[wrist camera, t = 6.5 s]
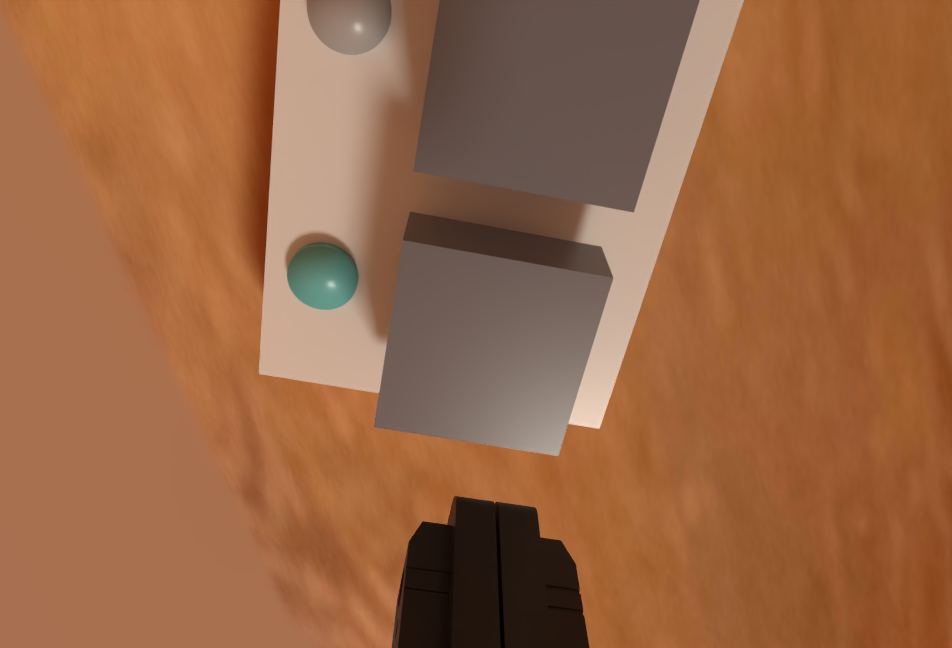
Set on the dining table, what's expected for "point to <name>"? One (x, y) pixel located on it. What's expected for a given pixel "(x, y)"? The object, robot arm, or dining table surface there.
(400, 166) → the keypad
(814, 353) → the dining table surface
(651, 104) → the middle key
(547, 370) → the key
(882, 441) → the dining table surface
